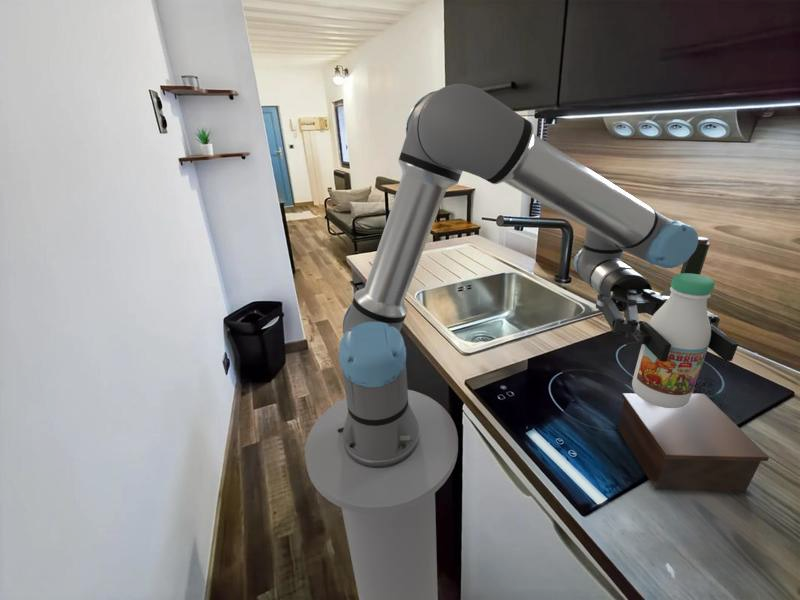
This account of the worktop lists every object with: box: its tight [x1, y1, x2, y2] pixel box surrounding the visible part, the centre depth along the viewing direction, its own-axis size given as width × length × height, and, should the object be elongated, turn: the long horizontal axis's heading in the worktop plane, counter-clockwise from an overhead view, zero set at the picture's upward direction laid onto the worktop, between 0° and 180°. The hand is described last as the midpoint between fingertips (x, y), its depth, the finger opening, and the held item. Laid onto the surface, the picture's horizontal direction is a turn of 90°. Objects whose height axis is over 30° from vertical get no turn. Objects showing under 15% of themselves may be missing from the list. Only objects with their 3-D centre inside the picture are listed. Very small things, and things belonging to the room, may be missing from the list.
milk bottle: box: [631, 272, 715, 408], centre depth 54 cm, size 8×8×20 cm
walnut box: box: [616, 392, 770, 493], centre depth 61 cm, size 14×14×8 cm
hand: (698, 352), depth 49 cm, fingers closed on milk bottle, 8 cm apart
